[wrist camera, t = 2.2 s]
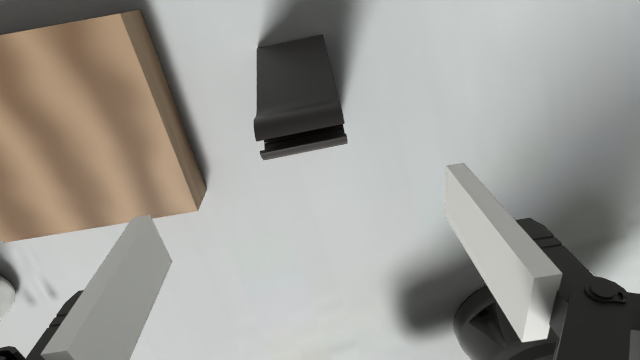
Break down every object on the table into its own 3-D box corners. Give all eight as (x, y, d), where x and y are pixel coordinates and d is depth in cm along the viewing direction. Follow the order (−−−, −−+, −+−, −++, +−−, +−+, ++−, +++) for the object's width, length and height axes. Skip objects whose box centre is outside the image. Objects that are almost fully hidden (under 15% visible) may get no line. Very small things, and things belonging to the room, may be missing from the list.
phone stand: (338, 127, 37) (355, 187, 26) (280, 138, 37) (274, 202, 26) (322, 33, 32) (335, 61, 22) (257, 47, 32) (237, 80, 22)
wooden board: (140, 9, 30) (119, 13, 27) (206, 190, 39) (197, 210, 36) (-87, 50, 31) (-136, 59, 28) (29, 219, 40) (3, 242, 36)
